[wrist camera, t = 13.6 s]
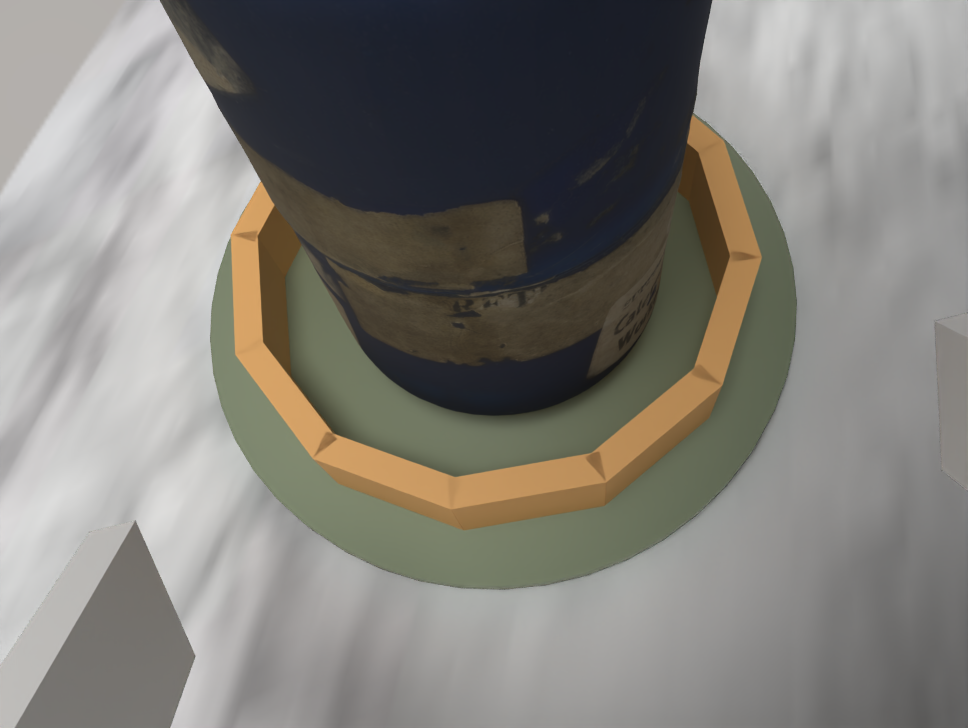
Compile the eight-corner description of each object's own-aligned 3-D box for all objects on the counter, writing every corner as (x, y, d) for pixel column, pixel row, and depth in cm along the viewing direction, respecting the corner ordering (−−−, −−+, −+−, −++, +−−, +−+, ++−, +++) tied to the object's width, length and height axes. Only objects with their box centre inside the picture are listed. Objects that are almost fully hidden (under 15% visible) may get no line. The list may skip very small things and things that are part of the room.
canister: (328, 201, 28) (-27, -527, 12) (604, 125, 28) (635, -710, 12) (385, 471, 25) (-22, -50, 8) (705, 383, 25) (954, -319, 8)
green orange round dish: (532, -6, 32) (526, -82, 29) (921, 320, 25) (966, 266, 22) (123, 279, 29) (69, 227, 26) (444, 733, 22) (422, 734, 19)
